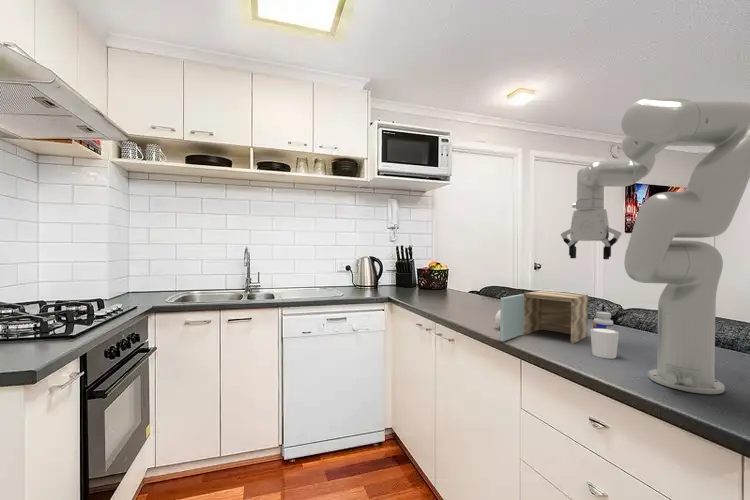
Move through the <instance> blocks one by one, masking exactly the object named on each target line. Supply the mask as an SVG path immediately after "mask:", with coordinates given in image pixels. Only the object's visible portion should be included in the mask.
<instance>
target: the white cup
mask: <svg viewBox="0 0 750 500" xmlns="http://www.w3.org/2000/svg"><path fill="white" fill-rule="evenodd" d="M589 331H590V341H591V352H592V355H593V356H595V357H598V358H603V359H611V360H612V359H617V356H618V355H617V353H618V346H619V338H620V337H619V336H620V332H619V331H617V330H614V329H613V330H610V329H603V328H593V327H592V328H590V330H589Z"/></svg>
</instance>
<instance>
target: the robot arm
mask: <svg viewBox="0 0 750 500" xmlns="http://www.w3.org/2000/svg"><path fill="white" fill-rule="evenodd" d="M620 123H621V131H622V133H623V134H624V135H625V136H624V137H623V139H622V141H621V149H622V151H623V153H624V155H625V156H626V157H627V158H628V159H630V160H607V161H605V160H603V161H602V160H600V161H599V160H598V161H596V160H595V161H593V162H591V163H589V164H588V165H587V166H585V167H582V168H580V169H579V170H578V171H577V173H576V174H577V175H576V200H575V202H574V203H572V204H571V205H572V206H571V207H572V208H575V209H576V210H574V211H573V213H572V217H571V223H570V228H569V229H568V230H566V231H563V232H561V233H560V237H561V238H562V240H563V242H564V243H565V244H566V245H567V247H568V256H569V259H577V246H576V244H577V243H578V242H579V241H580V242H587V241H588V242H590V241H591V242H593V241H594V242H596V241H597V242H600V241H601V242H602V244H604V246H603V251H602V252H603V253H602V254H603V260H609V259H610V258H611V257H612V247H613V245H615V244H616V243H617V242H618V241H619V239H620V238H621V236H622V232H621V231H619V230H617V229H614V228H611V227H610V225H609V218H608V216H609V215H608V212H607V209H606V208H605V187H622V188H623V187H629V186H632V185H634V184H636V183H638V182H639V181H641V180H643V178H644V179H645V178H646V177H647V176H648V175H649V173H651V171H652V170H653V168H654V165H655V162H656V155H657V154H659V153H661V151H662V150H664V149H666V148H667V147H668V146H669V147H672V146H674V147H676V146H677V147H681V146H683V147H684V146H685V147H688V146H689V147H691V146H692V147H693V146H694V147H696V146H697V147H699V146H700V147H703V146H704V147H706V146H711V147H713V148H714V149H712V150H711V151H710V152H708V153H707V154H706V155H705V156H704V157H702V159H701V160H700V161H699V162H698V163H697V165H696V166H695V167H694V168H693V170H692V173H691V175H690V179H689V182H688V184H687V185H686V188H685V189H684V190H683V191H665V192H664V191H663V192H658V193H655V194H653V195H652V196H650V197H648V198H647V199H646V200H645V201H644V202H643V203H642V204H641V206H640V208H639V210H638V212H637V215H636V217H635V222H634V225H633V227H632V228H633V229H632V230H631V234H630V237H629V240H628V241H629V242H628V244H627V247H626V251H625V255H624V261H623V262H624V270H625V272H626V274H627V277H629V278H630V279H631V280H633V281H636V282H638V283H643V284H666V285H665V287H664V288H663V289H662V292H661V293H660V294H659V298H658V301H657V302H658V303H657V349H656V351H657V361H656V362H657V364H656V368H654V369H651V370H649V371H648V378H649V379H650V380H651V381H652V382H655V383H656V384H659V385H662V386H664V387H667V388H671V389H675V390H678V391H683V392H686V393H687V392H688V393H693V394H701V395H702V394H703V395H720V394H723V393H725V389H726V388H725V385H724V384H723V383H722V382H721V381H719V380H717V379H715V370H716V369H715V368H716V367H715V365H716V363H715V360H716V359H715V358H716V357H715V355H716V350H715V349H716V304H717V303H716V302H717V292H718V286H719V283H720V279H721V276H722V271H723V267H724V266H723V265H724V261H723V256H722V254H721V251H719V250H718V248H716V247H715V246H714V245H712V244H709V243H707V242H702V241H700V240H699V241H698V240H688V239H687V240H678V239H677V240H676V239H675V238H680V239H681V238H682V239H683V238H685V239H686V238H689V239H692V238H693V239H697V238H698V239H701V238H702V239H705V238H712V237H713V238H714V237H718V236H720V235H722V234H723V233H725V232H726V231H727V230H728V228H729V227H730V225H731V224H732V221H733V218H734V217H735V214H736V212H737V210H738V207H739V204H740V202H741V201H742V198H743V195H744V193H745V190H746V188H747V186H748V184H749V183H748V182H749V180H750V102H744V101H743V102H742V101H730V100H729V101H728V100H725V101H723V100H721V101H720V100H717V101H715V100H714V101H713V100H711V101H692V100H689V99H685V98H679V97H678V98H676V97H675V98H674V97H673V98H672V97H669V98H667V97H666V98H663V97H661V98H658V97H657V98H656V97H655V98H653V97H650V98H648V97H647V98H642V99H639V100H637V101H635V102H633V104H631V105H629V107H628V108H627V109H626V111H625V112H624V114H623V116H622V118H621V122H620ZM610 234H613V237H612V238H611V239H610V240H609V236H610ZM569 235H570V236H569ZM568 236H569V237H570V239H569V237H568ZM674 239H675V240H674Z"/></svg>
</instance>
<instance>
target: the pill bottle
mask: <svg viewBox="0 0 750 500" xmlns="http://www.w3.org/2000/svg"><path fill="white" fill-rule="evenodd" d="M611 318H612V313H611V312H608V311H596V312H595V318H594V319H593V321H592V328H603V329H610V330H614V321H613V320H612V319H611Z"/></svg>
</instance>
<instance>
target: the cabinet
mask: <svg viewBox="0 0 750 500" xmlns="http://www.w3.org/2000/svg"><path fill="white" fill-rule="evenodd" d="M522 294H524V334H523V335H525V336H527V335H528V334H532V333H534V332H537V331H539V330H544V331H550V332H556V333H562V334H567V335H570V344H575V343H578V342H579V341H581V340H583V339H585V338H587V337H588V330H589V329H588V326H589V325H588V322H589V321H588V320H589V319H588V317H589V316H588V313H589V312H588V311H589V310H588V309H589V294H584V293H583V294H582V293H581V294H580V293H572V292H559V291H549V290H536V291H530V292H524V293H522Z"/></svg>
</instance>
